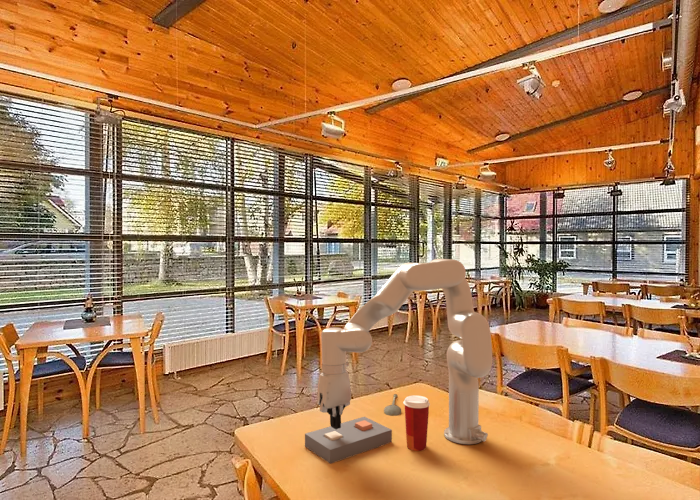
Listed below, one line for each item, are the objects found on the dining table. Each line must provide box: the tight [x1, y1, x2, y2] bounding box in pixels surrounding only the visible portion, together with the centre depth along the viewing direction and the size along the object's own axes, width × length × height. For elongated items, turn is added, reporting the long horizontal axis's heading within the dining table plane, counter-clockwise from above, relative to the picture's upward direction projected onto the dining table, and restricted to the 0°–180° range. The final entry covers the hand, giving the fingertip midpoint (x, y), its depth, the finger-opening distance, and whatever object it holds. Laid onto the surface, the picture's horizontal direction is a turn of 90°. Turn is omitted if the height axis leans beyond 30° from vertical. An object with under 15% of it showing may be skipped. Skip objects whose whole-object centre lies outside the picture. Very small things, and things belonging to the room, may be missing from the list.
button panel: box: [304, 416, 393, 464], centre depth 139 cm, size 14×24×4 cm, turn 127°
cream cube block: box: [324, 431, 342, 441], centre depth 136 cm, size 4×4×4 cm
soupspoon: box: [383, 393, 402, 417], centre depth 175 cm, size 22×3×7 cm
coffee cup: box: [402, 395, 431, 452], centre depth 138 cm, size 8×8×15 cm
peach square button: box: [355, 420, 372, 431], centre depth 143 cm, size 4×4×4 cm
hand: (335, 427), depth 136 cm, fingers closed
